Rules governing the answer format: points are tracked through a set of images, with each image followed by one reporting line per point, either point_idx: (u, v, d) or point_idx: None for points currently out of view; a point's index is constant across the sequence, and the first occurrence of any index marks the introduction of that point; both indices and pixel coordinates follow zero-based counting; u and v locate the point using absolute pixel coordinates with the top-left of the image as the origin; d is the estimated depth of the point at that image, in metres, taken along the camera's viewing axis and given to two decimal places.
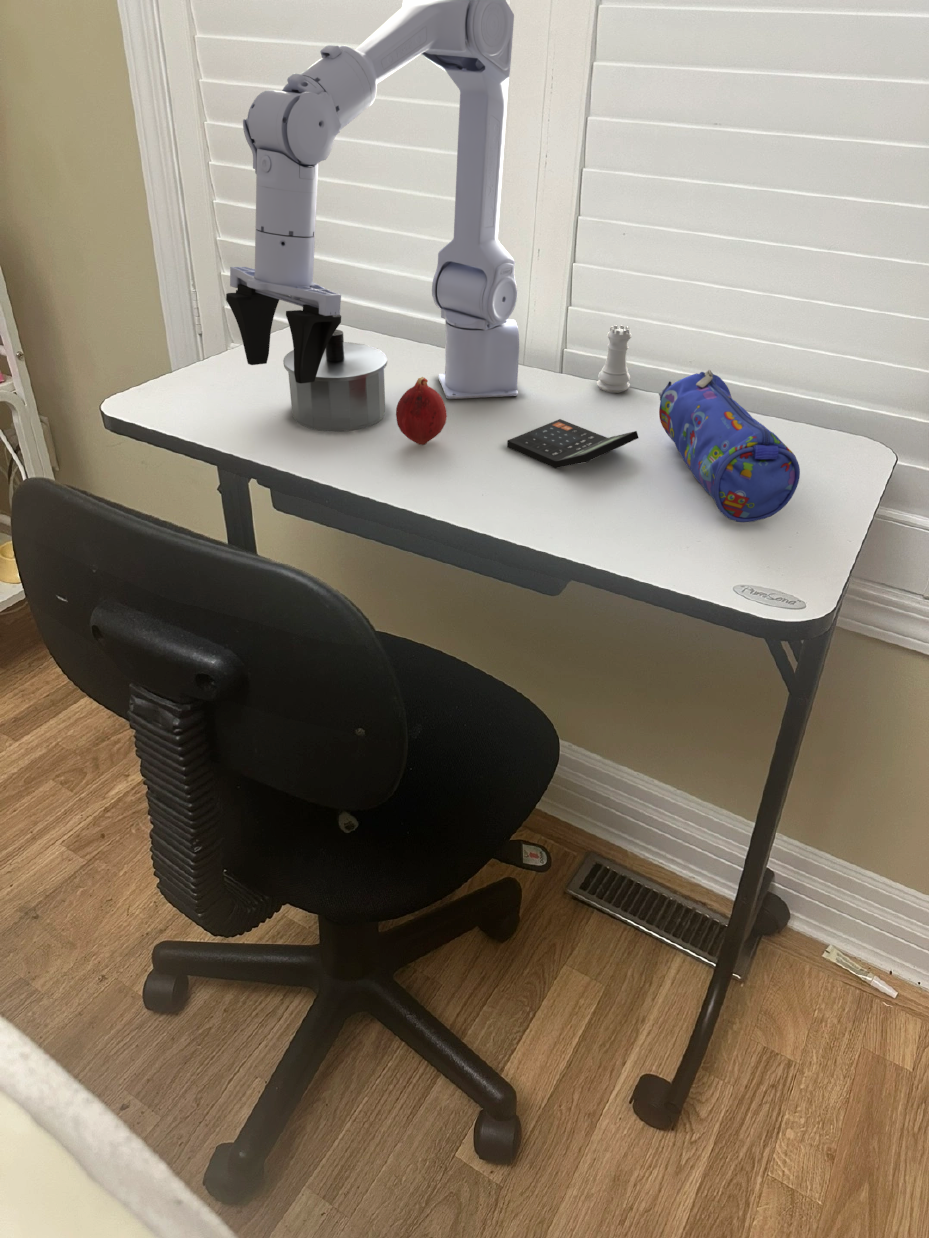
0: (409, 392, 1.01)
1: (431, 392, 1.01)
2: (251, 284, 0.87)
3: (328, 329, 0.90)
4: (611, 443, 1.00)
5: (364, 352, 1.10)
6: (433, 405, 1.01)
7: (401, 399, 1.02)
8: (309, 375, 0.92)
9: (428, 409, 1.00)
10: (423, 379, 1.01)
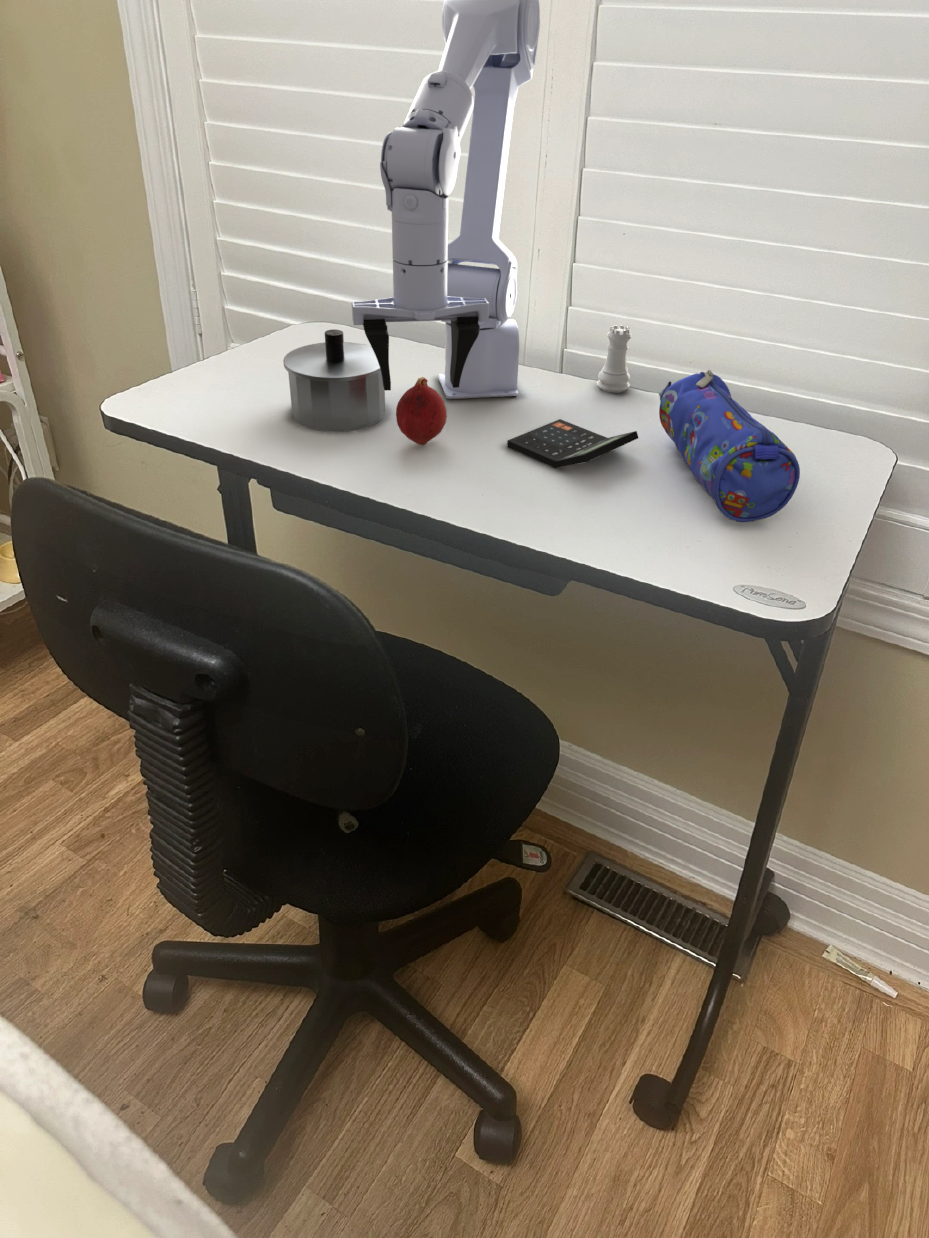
0: (409, 392, 1.01)
1: (431, 392, 1.01)
2: (425, 316, 0.93)
3: None
4: (611, 443, 1.00)
5: (364, 352, 1.10)
6: (433, 405, 1.01)
7: (401, 399, 1.02)
8: None
9: (428, 409, 1.00)
10: (423, 379, 1.01)
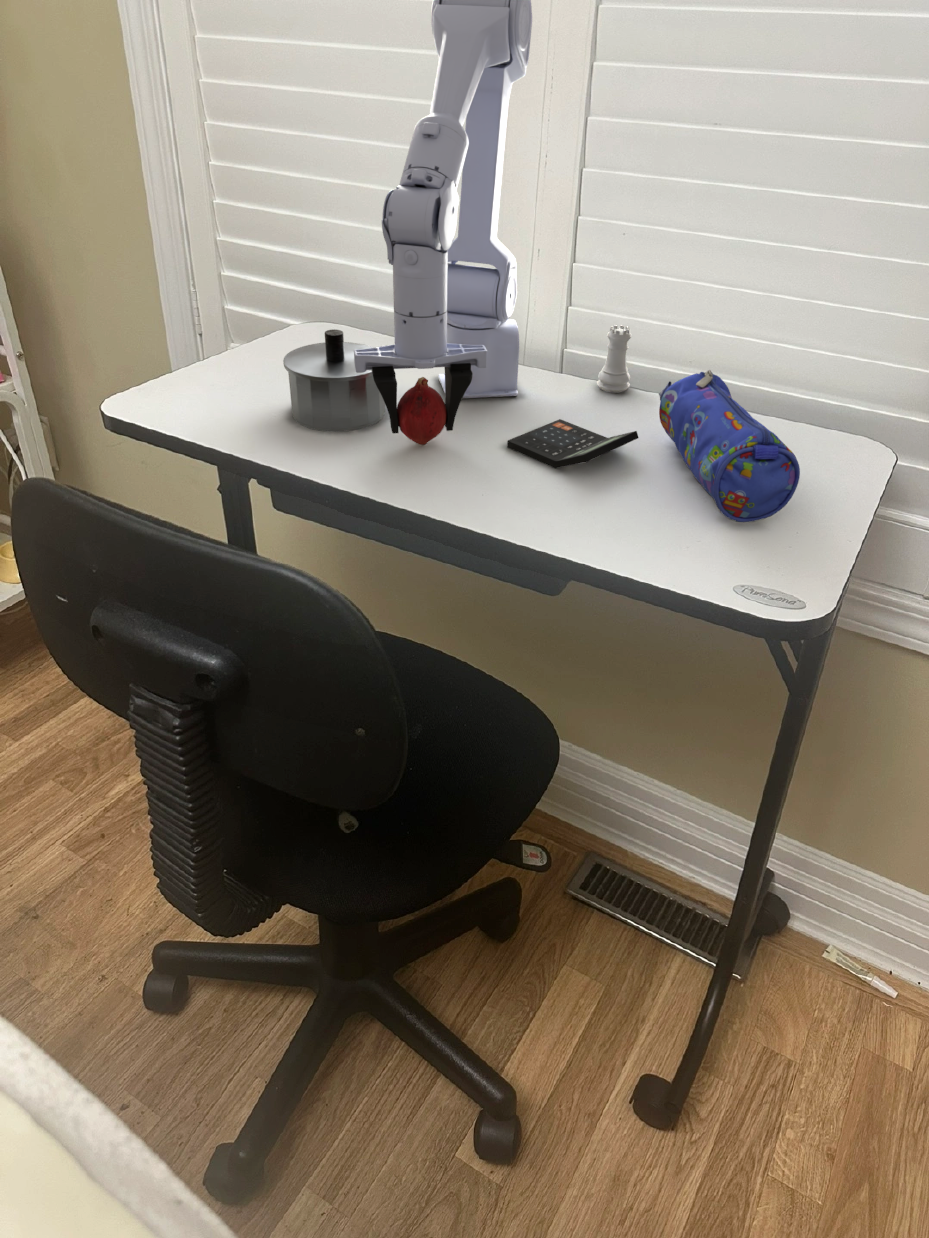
0: (409, 392, 1.01)
1: (431, 392, 1.01)
2: (425, 365, 0.96)
3: None
4: (611, 443, 1.00)
5: None
6: (433, 405, 1.01)
7: (401, 399, 1.02)
8: None
9: (428, 409, 1.00)
10: (423, 379, 1.01)
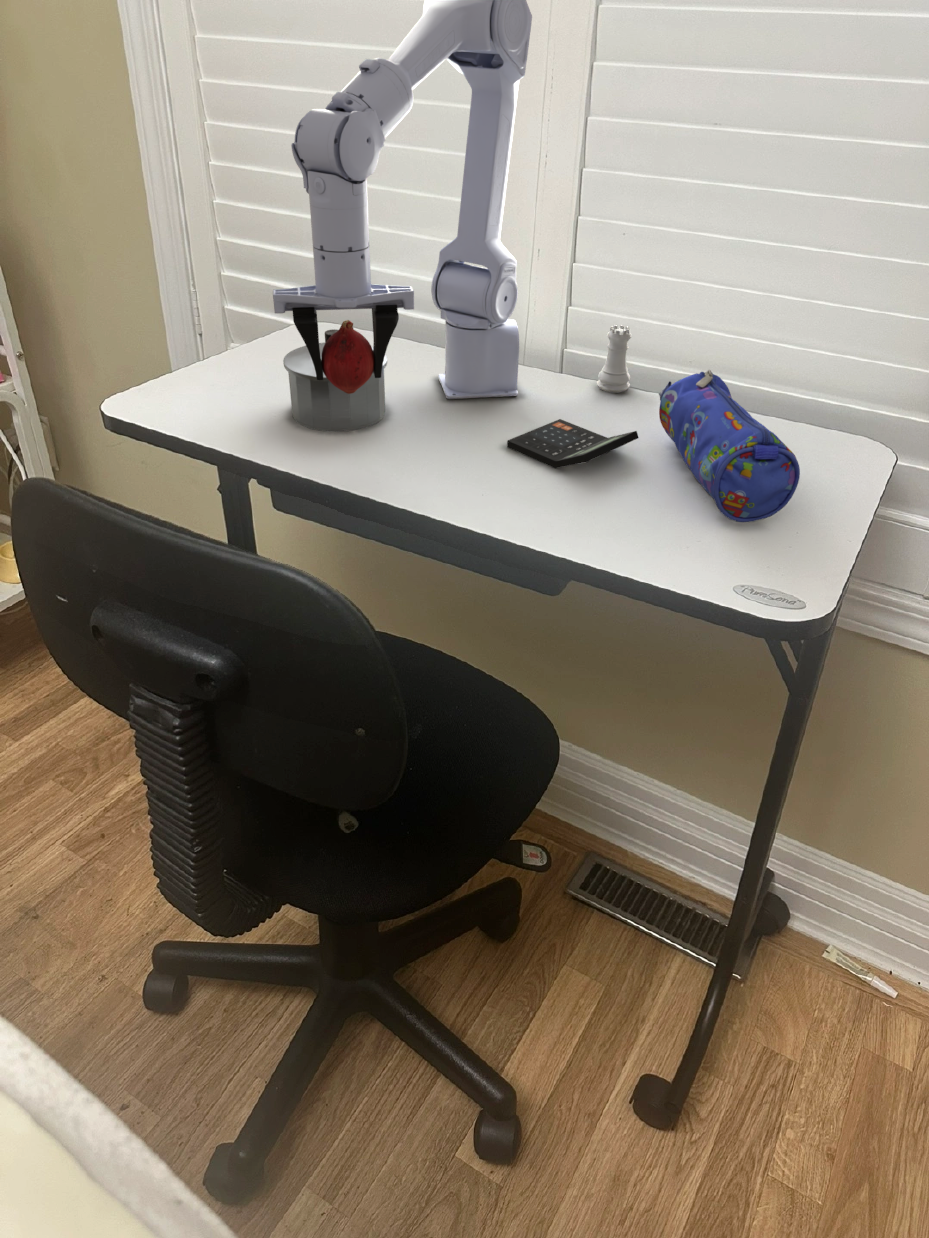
0: (333, 336, 0.96)
1: (356, 336, 0.96)
2: (346, 304, 0.91)
3: None
4: (611, 443, 1.00)
5: None
6: (358, 350, 0.96)
7: (326, 344, 0.97)
8: None
9: (353, 353, 0.95)
10: (348, 322, 0.96)
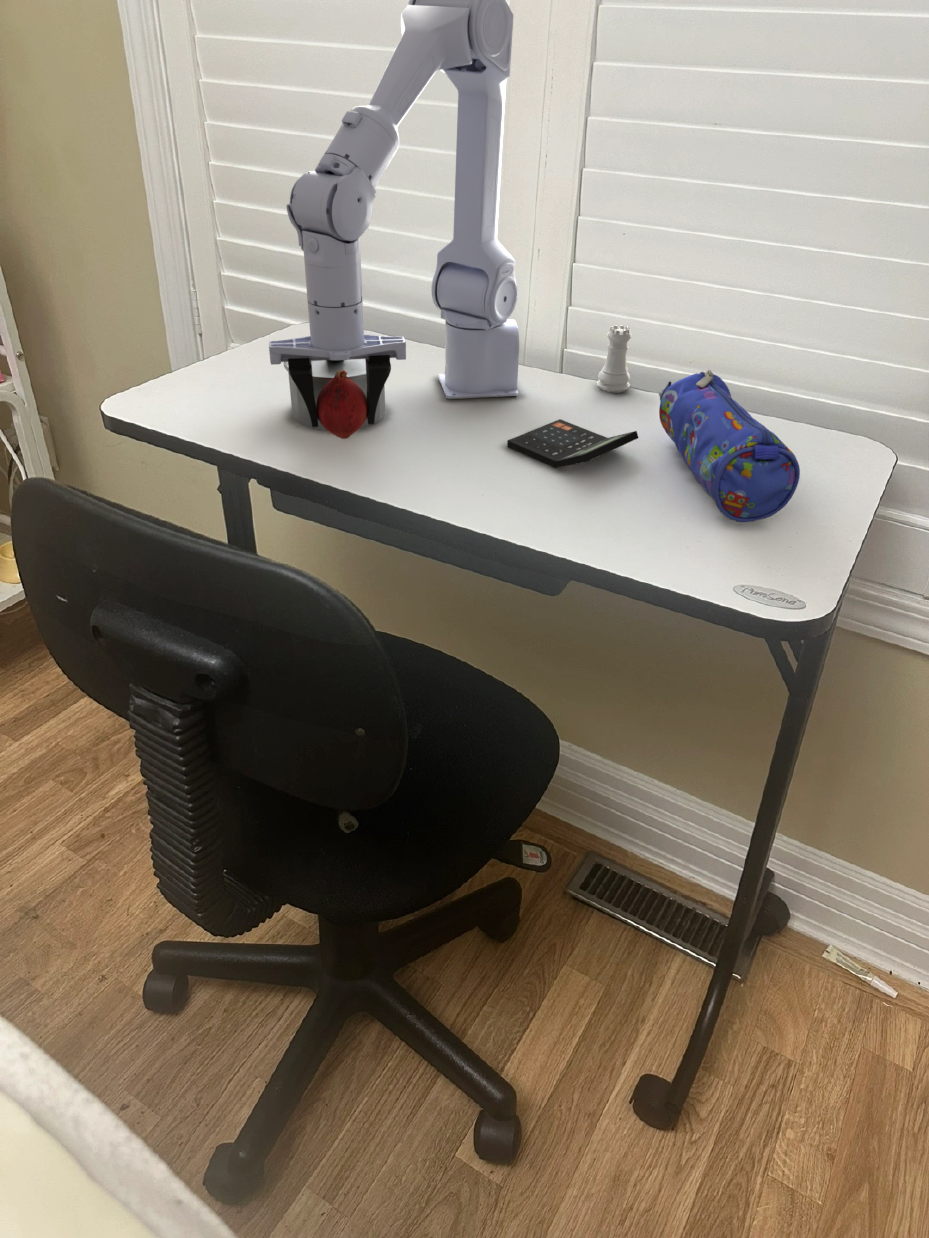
0: (328, 385, 0.99)
1: (350, 385, 0.99)
2: (339, 357, 0.94)
3: None
4: (611, 443, 1.00)
5: None
6: (352, 398, 0.99)
7: (320, 392, 1.00)
8: None
9: (347, 402, 0.98)
10: (342, 371, 0.99)
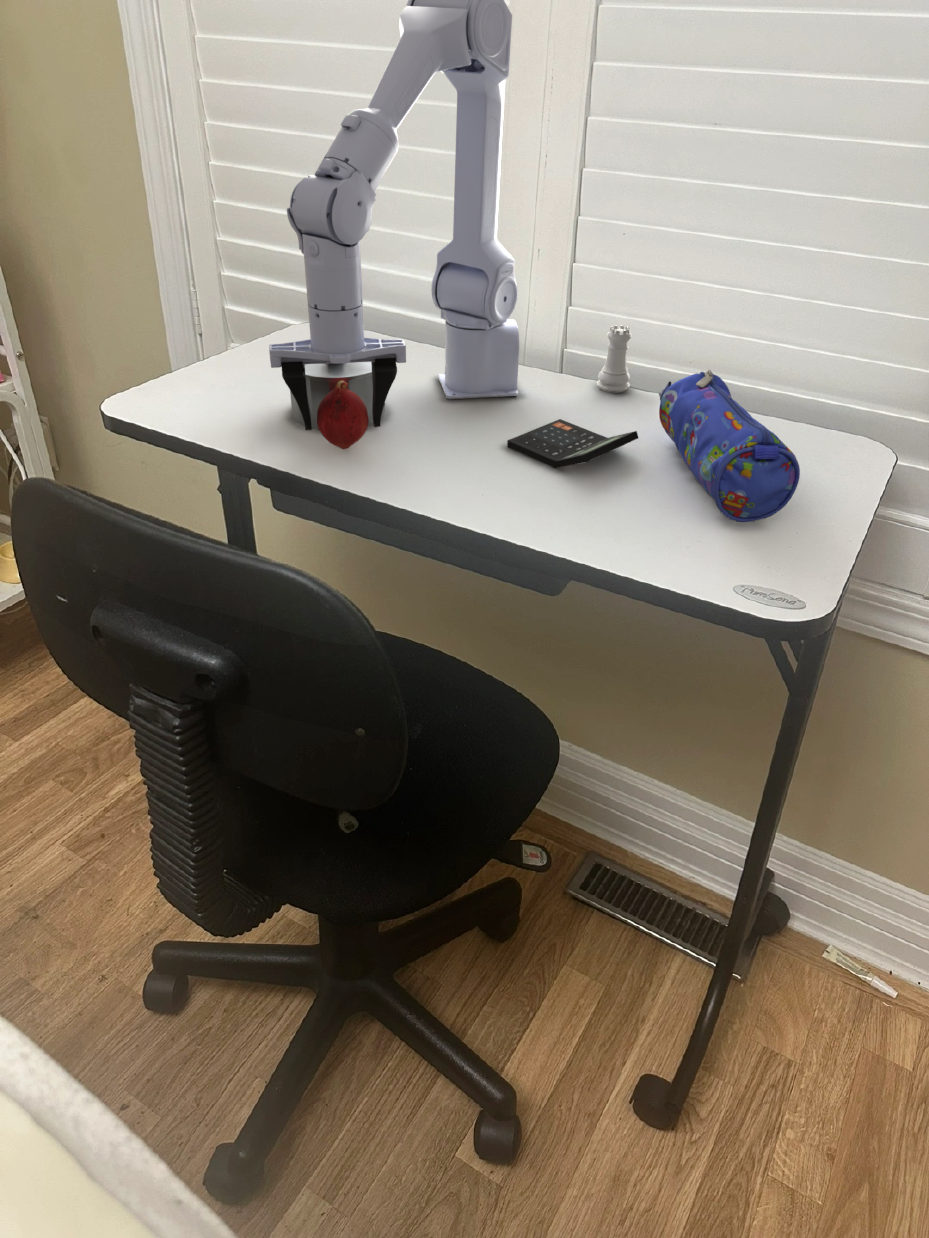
0: (328, 396, 1.00)
1: (350, 396, 0.99)
2: (339, 360, 0.94)
3: None
4: (611, 443, 1.00)
5: None
6: (352, 409, 0.99)
7: (321, 403, 1.00)
8: None
9: (347, 413, 0.99)
10: (343, 383, 0.99)
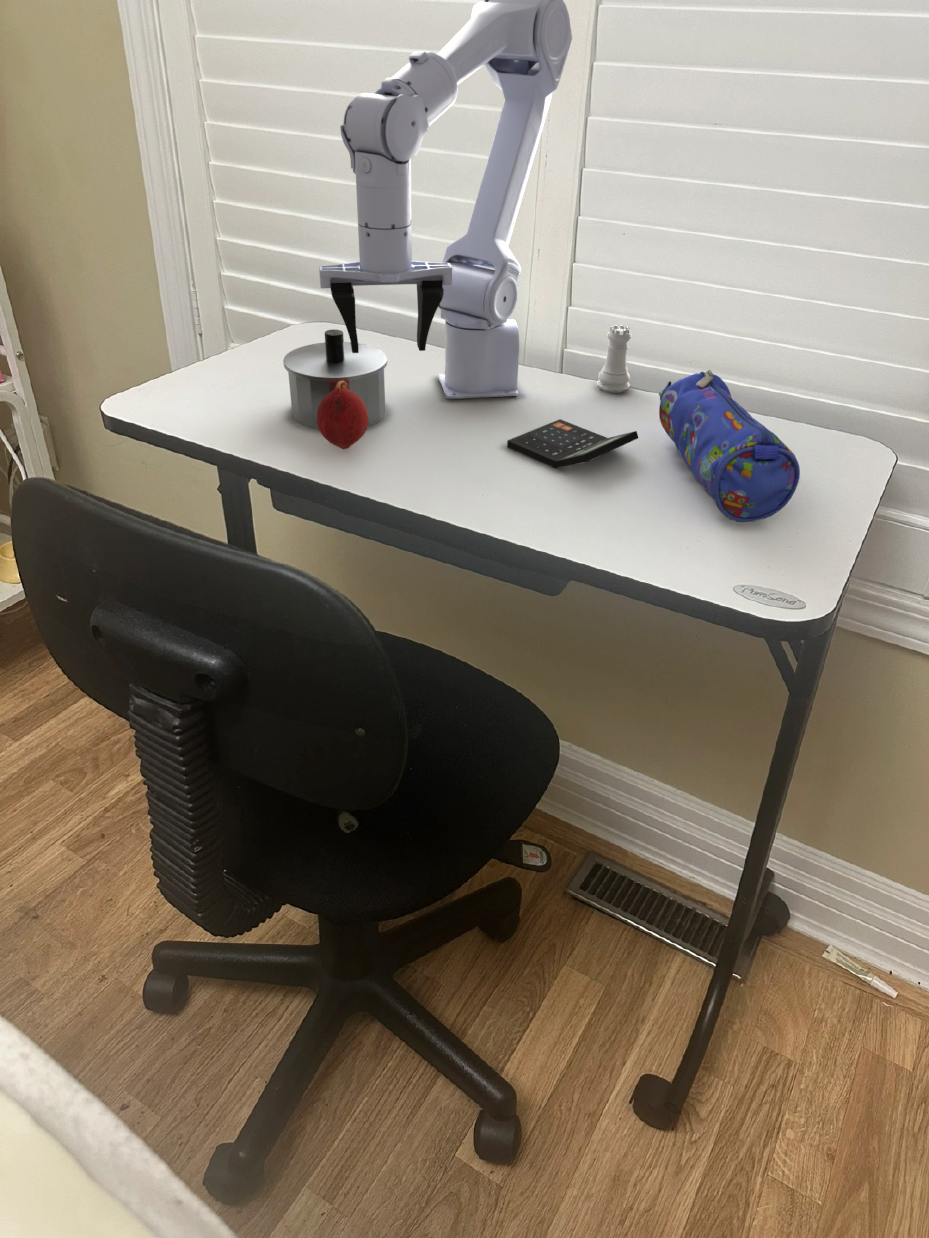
0: (328, 396, 1.00)
1: (350, 396, 0.99)
2: (389, 279, 0.96)
3: None
4: (611, 443, 1.00)
5: (364, 352, 1.10)
6: (352, 409, 0.99)
7: (321, 403, 1.00)
8: None
9: (347, 413, 0.99)
10: (343, 383, 0.99)
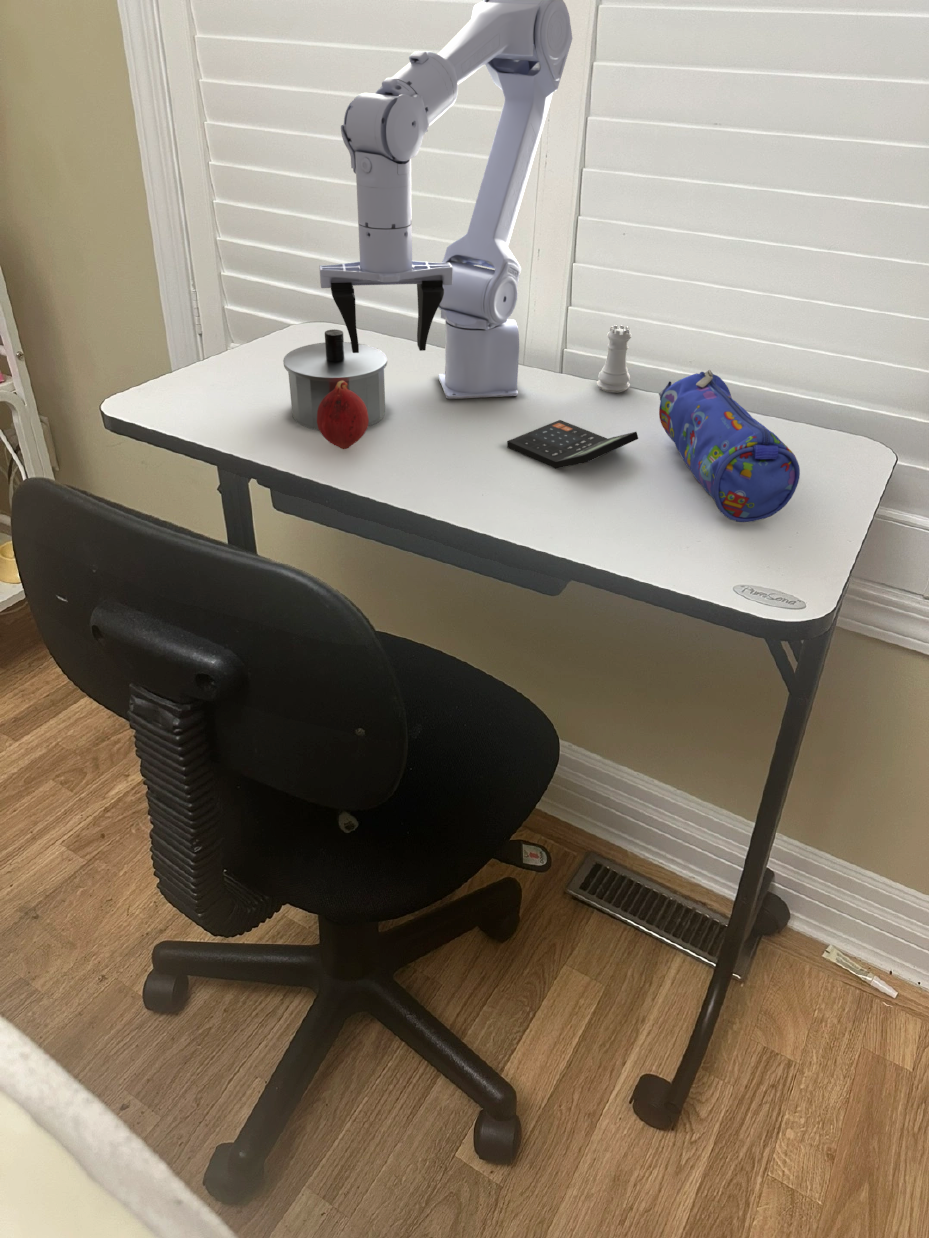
0: (328, 396, 1.00)
1: (350, 396, 0.99)
2: (389, 279, 0.96)
3: None
4: (611, 444, 1.00)
5: (364, 352, 1.10)
6: (352, 409, 0.99)
7: (321, 403, 1.00)
8: None
9: (347, 413, 0.99)
10: (343, 383, 0.99)
